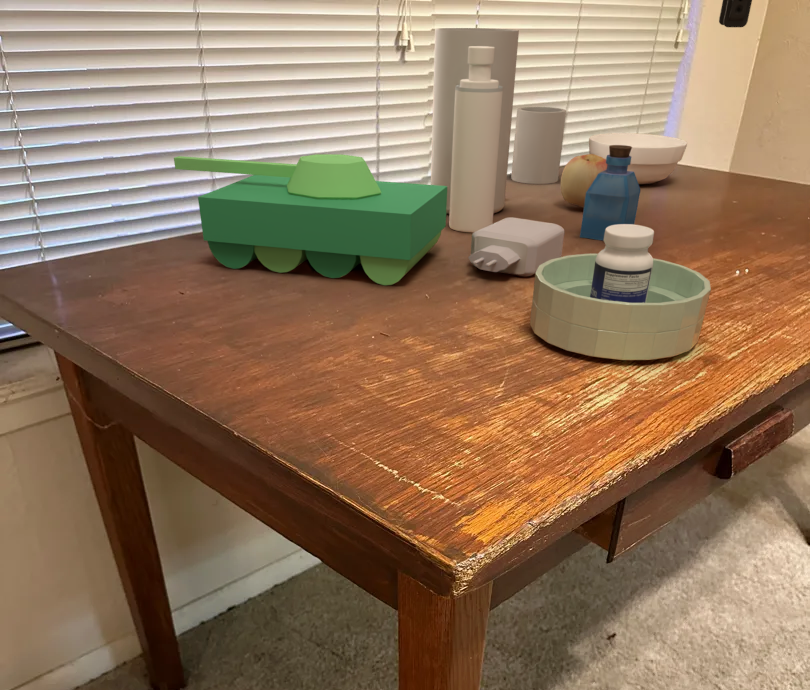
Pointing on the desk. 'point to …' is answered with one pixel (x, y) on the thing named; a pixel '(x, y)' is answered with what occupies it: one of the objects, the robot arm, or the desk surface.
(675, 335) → the ceramic bowl
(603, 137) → the bowl
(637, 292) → the pill bottle
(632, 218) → the perfume bottle
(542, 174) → the cup
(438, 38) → the cylinder vase
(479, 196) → the spray bottle
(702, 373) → the desk surface
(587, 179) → the apple
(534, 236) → the charger
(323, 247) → the toy tank
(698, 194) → the desk surface
